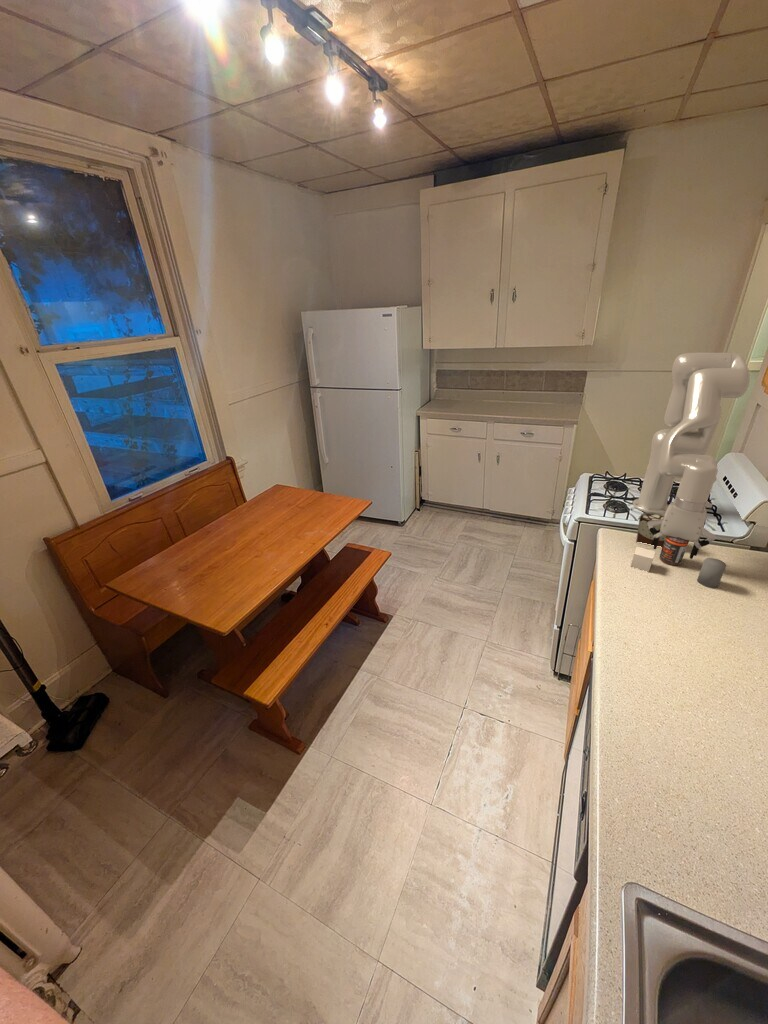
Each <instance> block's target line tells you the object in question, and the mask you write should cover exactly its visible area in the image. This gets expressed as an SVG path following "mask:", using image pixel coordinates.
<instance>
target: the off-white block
mask: <svg viewBox="0 0 768 1024" xmlns="http://www.w3.org/2000/svg"><path fill="white" fill-rule="evenodd" d="M655 553H656V551H654V550H652V549H647V548H643V547H642V546H641V547H640V546H636V547H635V551H634V553H633V556H632V561H631V562H630V566H631V567H630V568H632V567H634V568H633V569H636V568H638V569H637V570H639V569H641V570H640V571H643V570H644V571H643V572H646V571H647V572H648V573H649V572H650V569H651V566H652V563H653V559H654V557H655ZM647 572H646V573H647Z"/></svg>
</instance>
